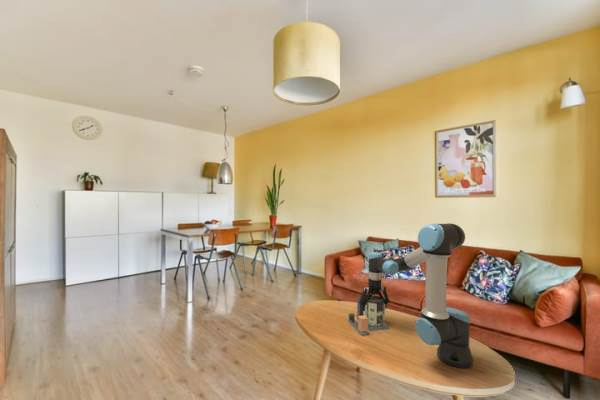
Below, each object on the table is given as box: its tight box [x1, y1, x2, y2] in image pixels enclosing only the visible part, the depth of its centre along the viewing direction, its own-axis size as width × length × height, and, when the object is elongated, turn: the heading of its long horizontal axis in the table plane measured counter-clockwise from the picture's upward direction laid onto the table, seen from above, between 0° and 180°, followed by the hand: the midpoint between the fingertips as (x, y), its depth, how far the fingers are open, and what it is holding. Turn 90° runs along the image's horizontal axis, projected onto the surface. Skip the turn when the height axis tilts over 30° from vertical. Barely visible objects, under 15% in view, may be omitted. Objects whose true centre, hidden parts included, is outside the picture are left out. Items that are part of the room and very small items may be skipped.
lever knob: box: [357, 315, 369, 332], centre depth 156 cm, size 4×4×7 cm
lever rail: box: [348, 312, 368, 337], centre depth 162 cm, size 18×3×5 cm, turn 15°
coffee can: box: [366, 295, 384, 326], centre depth 166 cm, size 10×10×14 cm
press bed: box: [356, 294, 389, 332], centre depth 168 cm, size 16×12×14 cm
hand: (374, 314), depth 166 cm, fingers open, 12 cm apart
